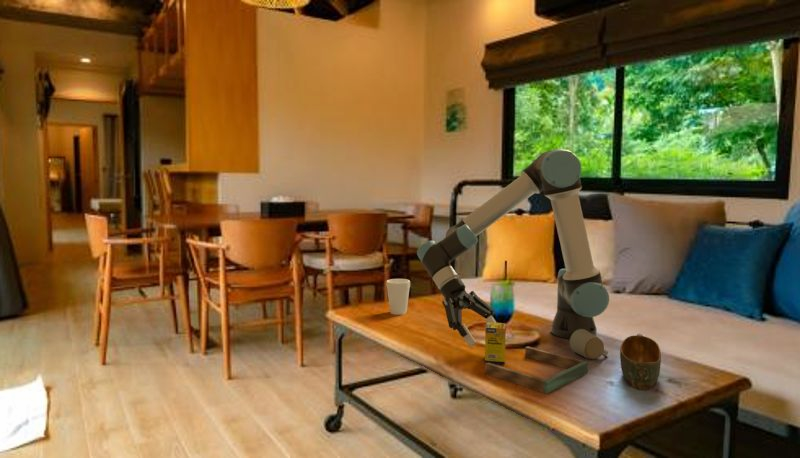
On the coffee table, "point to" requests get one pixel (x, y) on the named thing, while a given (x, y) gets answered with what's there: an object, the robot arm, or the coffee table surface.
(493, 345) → the supplement box
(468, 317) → the coffee table surface
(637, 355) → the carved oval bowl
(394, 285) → the foam cup
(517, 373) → the open frame
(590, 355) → the ceramic mug
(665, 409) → the coffee table surface
